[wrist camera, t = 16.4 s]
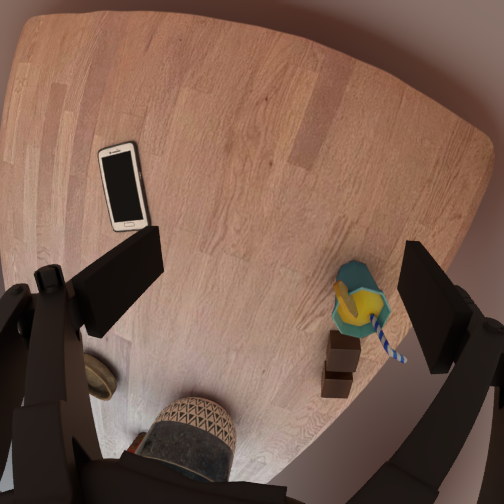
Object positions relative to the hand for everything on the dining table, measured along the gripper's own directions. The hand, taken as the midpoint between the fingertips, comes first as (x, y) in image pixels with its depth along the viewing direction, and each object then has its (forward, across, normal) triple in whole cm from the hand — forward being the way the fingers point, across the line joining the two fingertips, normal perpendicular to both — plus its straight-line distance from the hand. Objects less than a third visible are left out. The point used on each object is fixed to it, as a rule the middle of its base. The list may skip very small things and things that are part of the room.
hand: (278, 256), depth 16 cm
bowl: (+29, -48, -47) cm, 73 cm away
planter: (+29, -18, -52) cm, 62 cm away
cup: (+29, +10, -16) cm, 34 cm away
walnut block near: (+29, +9, -28) cm, 41 cm away
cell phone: (+29, -28, -2) cm, 40 cm away
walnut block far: (+29, +9, -35) cm, 46 cm away
